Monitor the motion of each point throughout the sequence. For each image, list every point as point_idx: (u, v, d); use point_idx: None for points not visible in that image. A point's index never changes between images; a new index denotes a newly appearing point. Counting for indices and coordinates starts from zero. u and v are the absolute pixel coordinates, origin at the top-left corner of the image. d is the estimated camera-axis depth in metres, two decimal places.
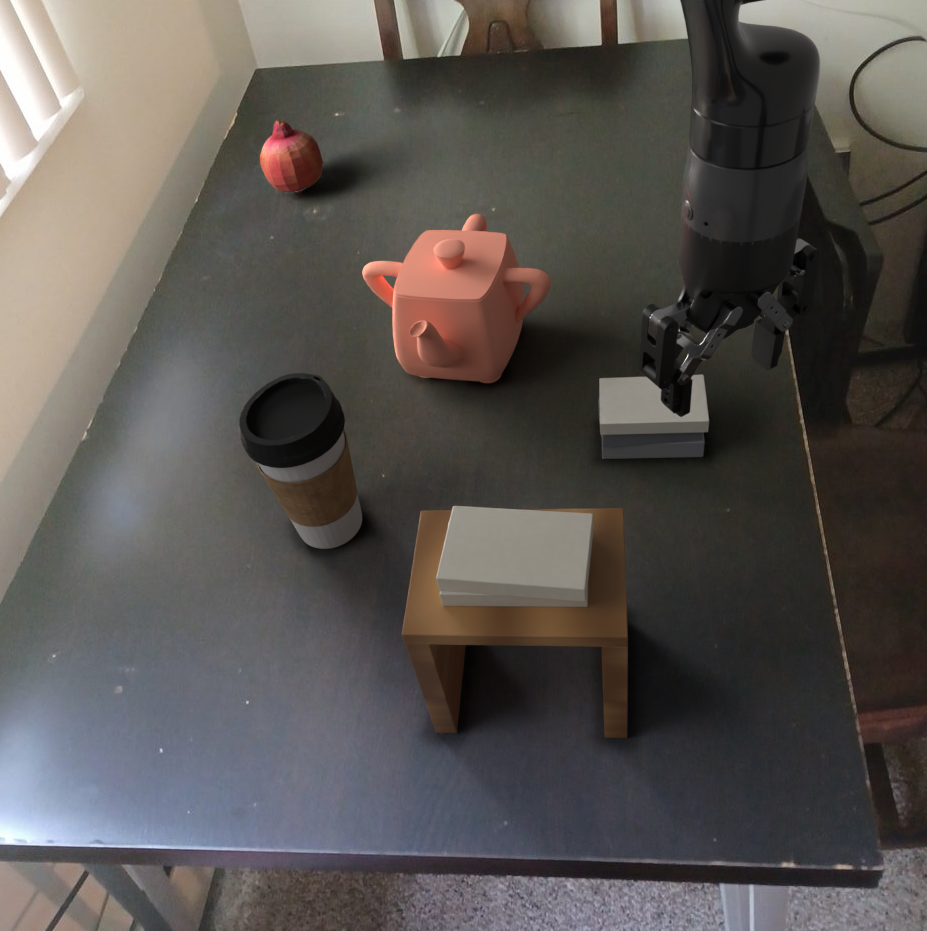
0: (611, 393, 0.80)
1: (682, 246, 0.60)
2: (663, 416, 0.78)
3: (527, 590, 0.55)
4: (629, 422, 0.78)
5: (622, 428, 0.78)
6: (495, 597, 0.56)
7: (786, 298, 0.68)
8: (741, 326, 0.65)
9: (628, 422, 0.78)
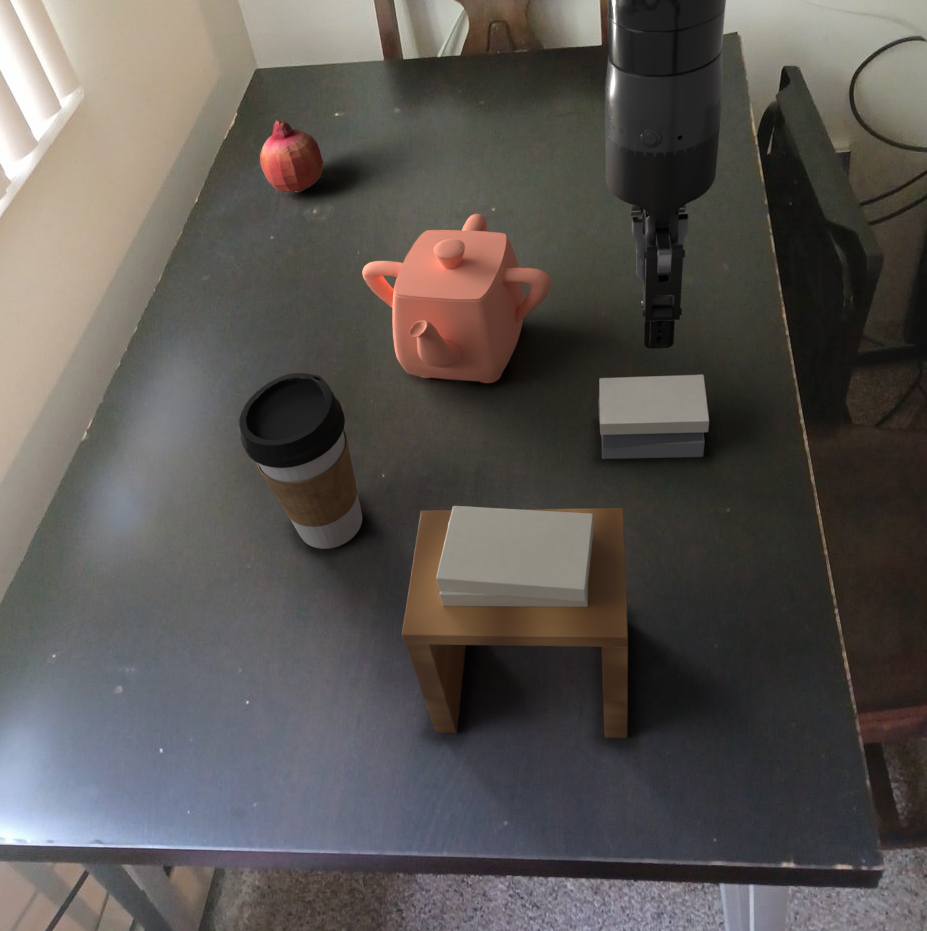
0: (611, 393, 0.80)
1: (642, 181, 0.60)
2: (663, 416, 0.78)
3: (527, 590, 0.55)
4: (629, 422, 0.78)
5: (622, 428, 0.78)
6: (495, 597, 0.56)
7: None
8: None
9: (628, 422, 0.78)
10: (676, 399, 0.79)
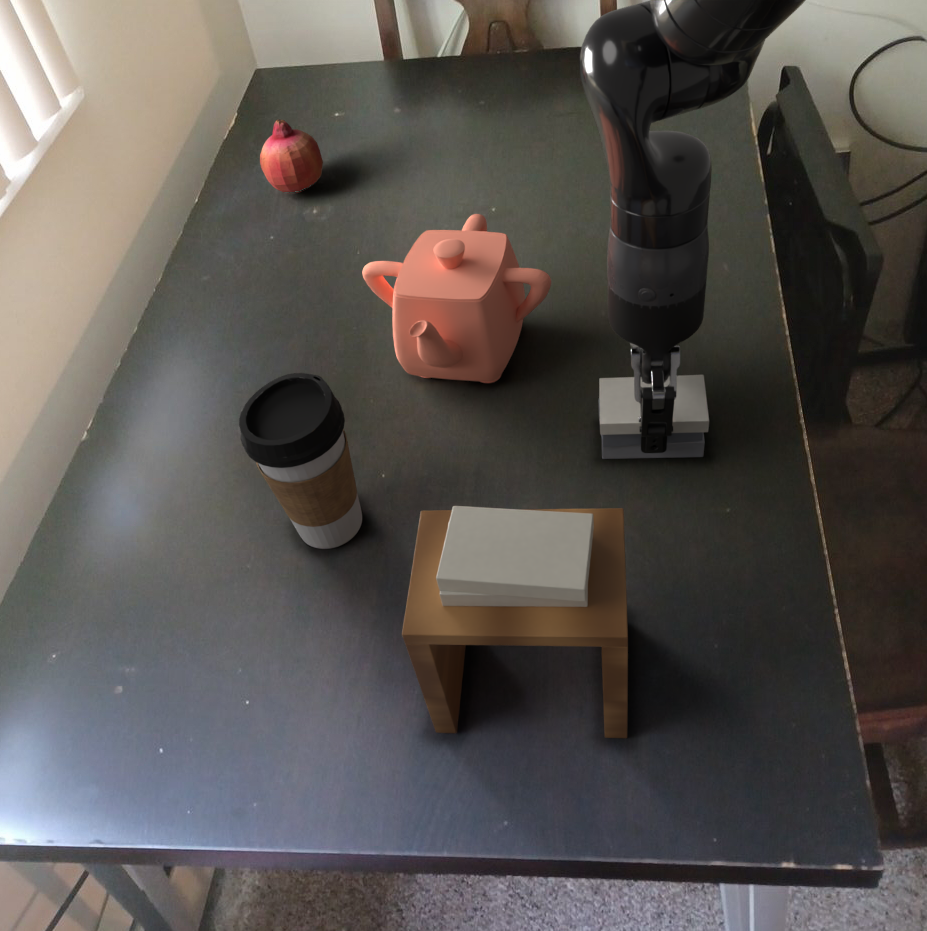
0: (611, 393, 0.80)
1: (639, 326, 0.69)
2: None
3: (527, 590, 0.55)
4: (629, 422, 0.78)
5: (622, 428, 0.78)
6: (495, 597, 0.56)
7: None
8: None
9: (628, 422, 0.78)
10: (676, 399, 0.79)
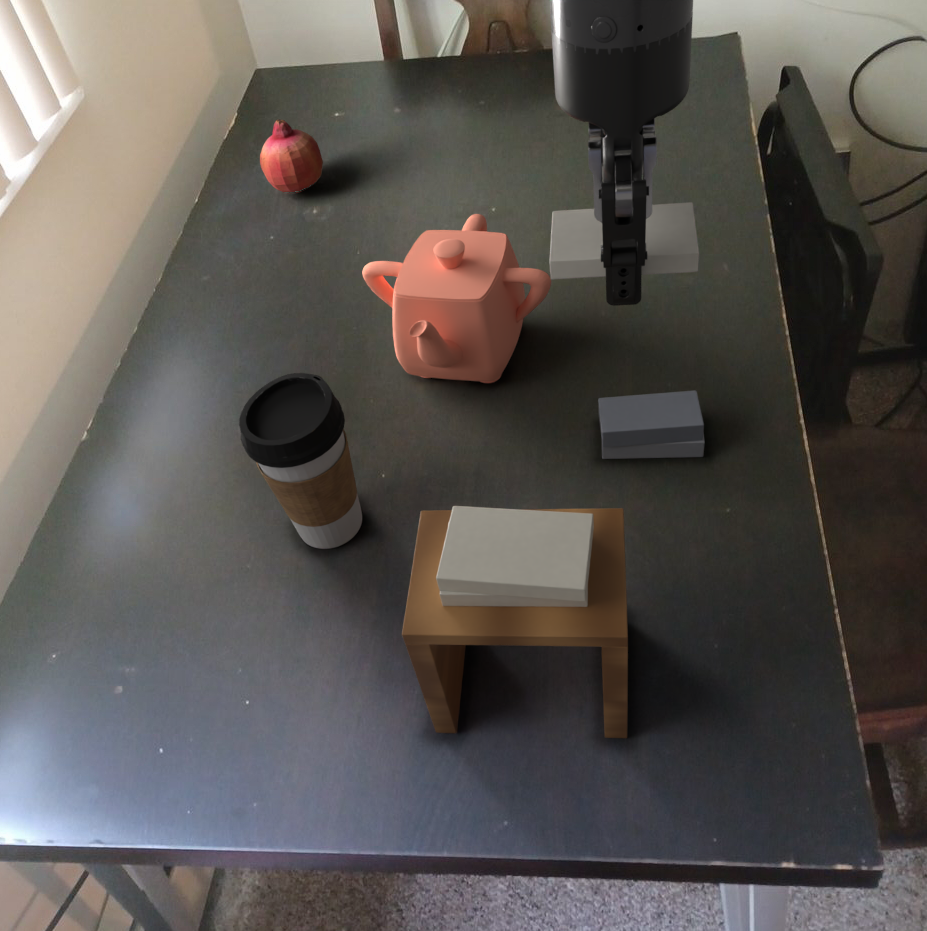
0: (567, 226, 0.59)
1: (595, 88, 0.48)
2: None
3: (527, 590, 0.55)
4: (589, 258, 0.57)
5: (580, 268, 0.57)
6: (495, 597, 0.56)
7: None
8: None
9: (588, 258, 0.57)
10: (655, 230, 0.58)
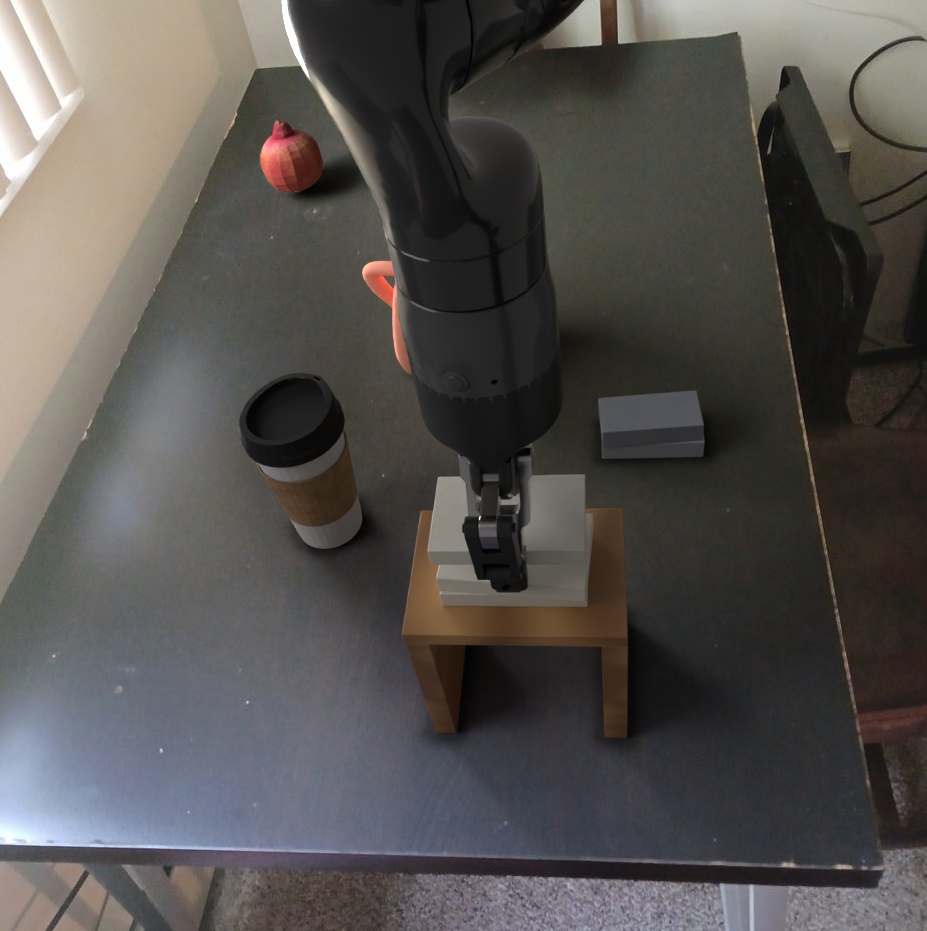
0: (451, 501, 0.56)
1: (454, 426, 0.44)
2: None
3: (527, 590, 0.55)
4: None
5: (460, 557, 0.53)
6: (495, 597, 0.56)
7: None
8: None
9: None
10: (542, 513, 0.54)
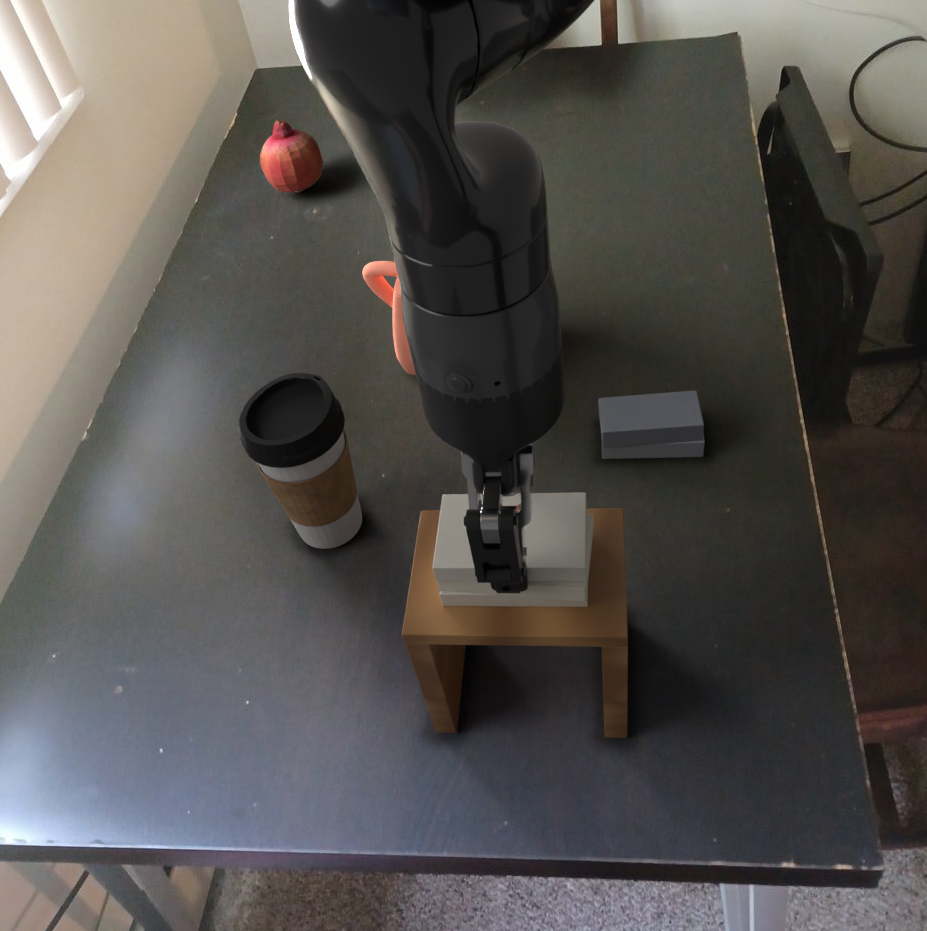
0: (455, 518, 0.57)
1: (457, 426, 0.45)
2: None
3: (527, 590, 0.55)
4: (472, 567, 0.54)
5: (464, 574, 0.55)
6: (495, 597, 0.56)
7: None
8: None
9: (472, 566, 0.54)
10: (544, 530, 0.55)
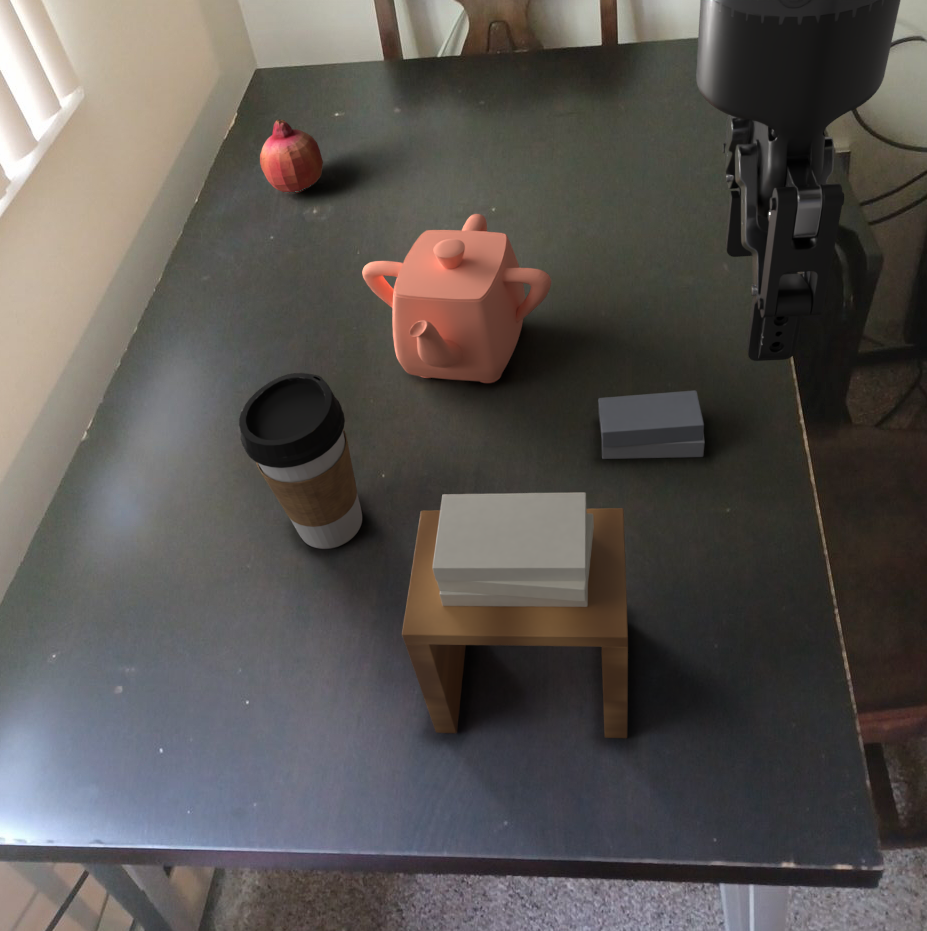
0: (455, 518, 0.57)
1: (771, 74, 0.35)
2: (522, 558, 0.54)
3: (527, 590, 0.55)
4: (472, 567, 0.54)
5: (464, 574, 0.55)
6: (495, 597, 0.56)
7: None
8: None
9: (472, 566, 0.54)
10: (544, 530, 0.55)
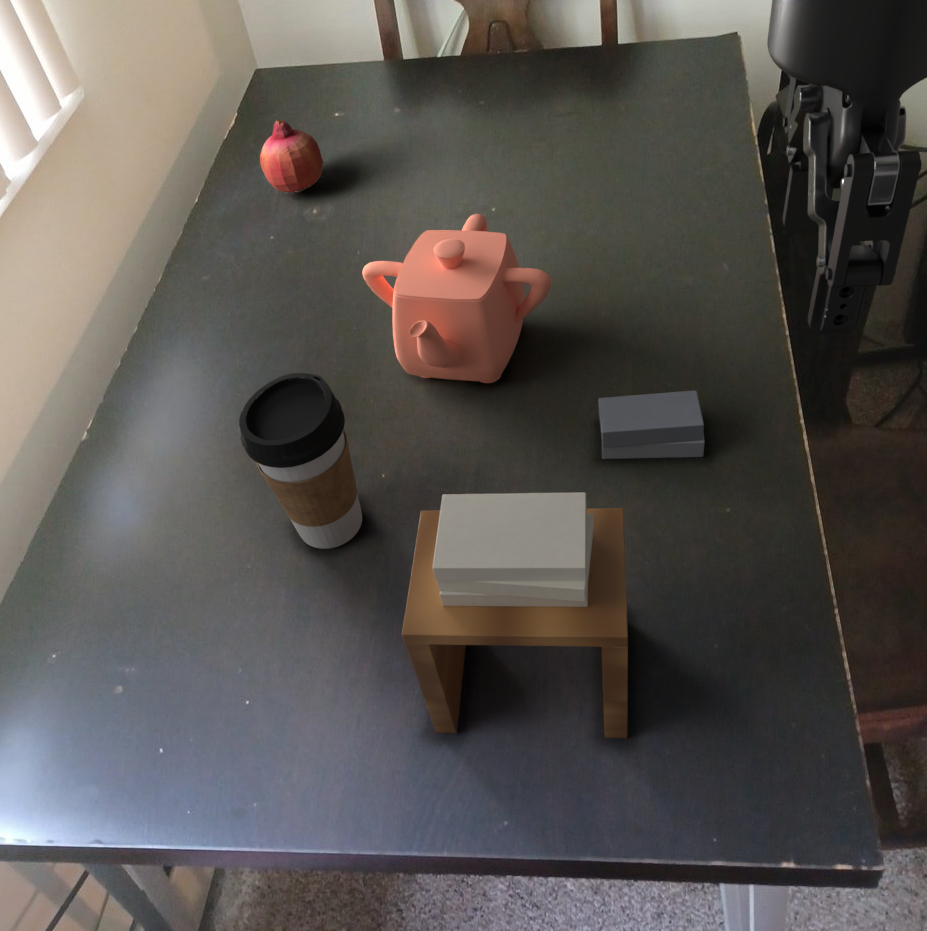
0: (455, 518, 0.57)
1: (850, 38, 0.34)
2: (522, 558, 0.54)
3: (527, 590, 0.55)
4: (472, 567, 0.54)
5: (464, 574, 0.55)
6: (495, 597, 0.56)
7: None
8: None
9: (472, 566, 0.54)
10: (544, 530, 0.55)
